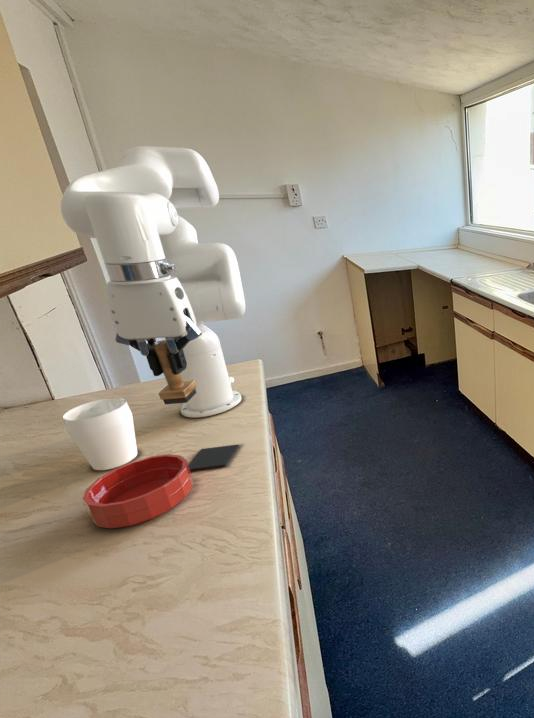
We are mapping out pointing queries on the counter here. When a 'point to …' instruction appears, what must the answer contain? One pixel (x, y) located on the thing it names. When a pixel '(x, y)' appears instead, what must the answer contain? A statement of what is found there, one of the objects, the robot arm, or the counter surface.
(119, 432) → the cup
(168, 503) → the bowl
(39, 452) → the counter surface
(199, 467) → the mat
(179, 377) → the wooden stamp
